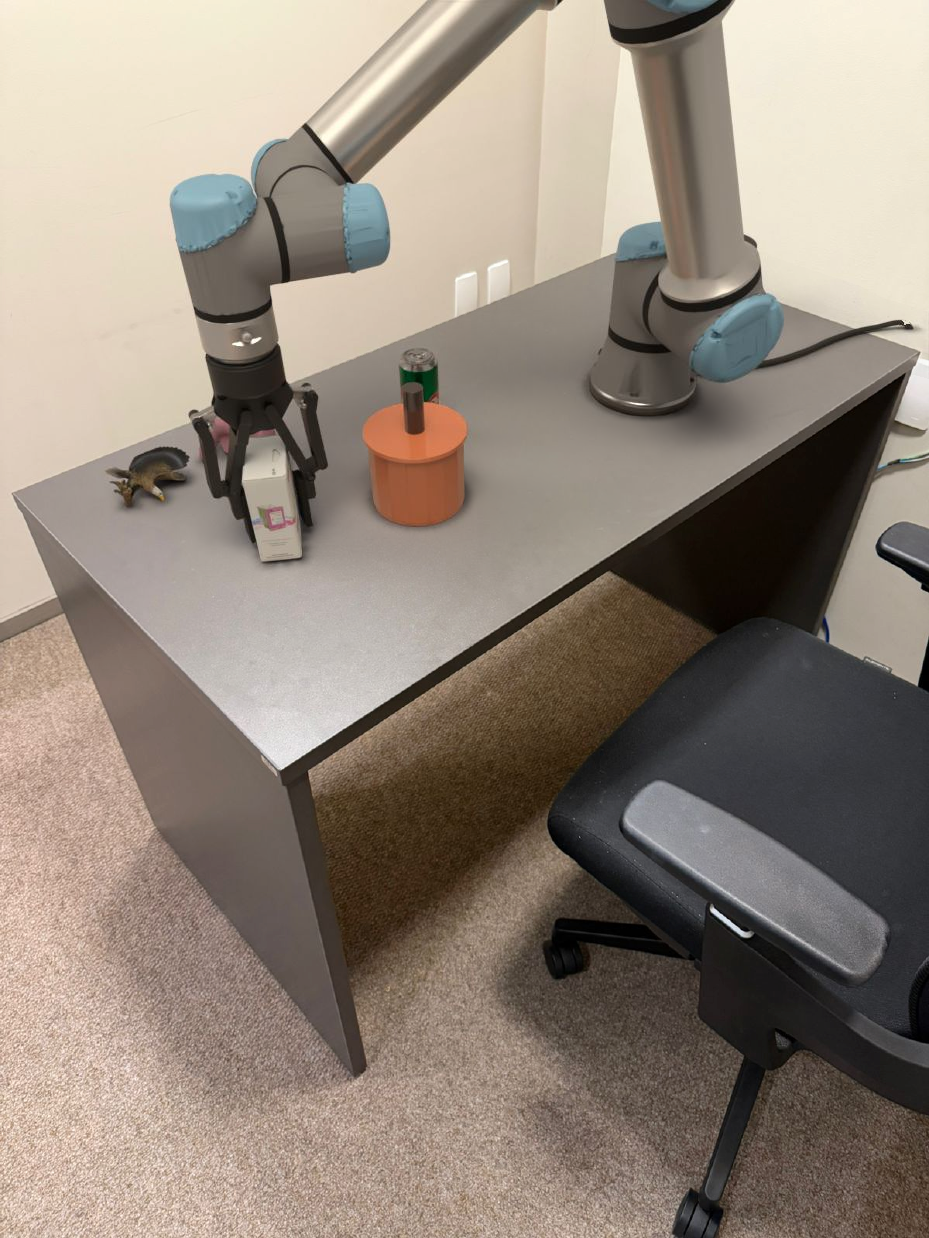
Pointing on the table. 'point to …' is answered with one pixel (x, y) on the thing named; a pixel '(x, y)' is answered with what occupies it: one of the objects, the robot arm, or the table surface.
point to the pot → (418, 489)
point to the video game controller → (223, 435)
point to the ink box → (272, 498)
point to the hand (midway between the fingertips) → (279, 528)
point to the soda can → (420, 372)
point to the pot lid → (414, 429)
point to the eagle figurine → (149, 471)
